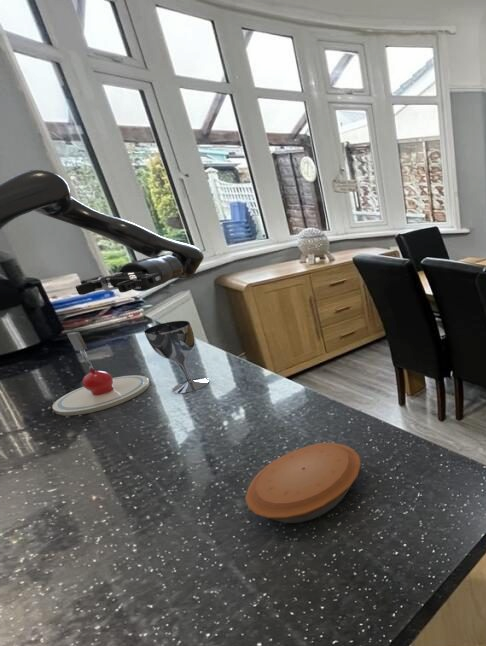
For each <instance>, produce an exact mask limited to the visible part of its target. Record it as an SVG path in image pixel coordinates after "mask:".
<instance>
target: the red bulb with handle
mask: <svg viewBox="0 0 486 646" xmlns="http://www.w3.org/2000/svg"><path fill="white" fill-rule="evenodd" d="M66 335H67V337H68V339H69V341H70V343H71V345H72V347H73V349H74V351H75V352H80V355H81V356H82V359H83V361H84V362H85V364H86V366H87V368H88V370H89V373H87V374H85V376H84V377H83V378H82V380H81V381H82V382H81V383H82V387H85V388H86V389H87V390H89V391H91V393H92V395H101V394H105V393H108V392H110V391H112V390H113V389H114V387H113V386H112V384H113V378H114V377H113V376H112V375H111V374H110V373H109V372H107V371H103V370H95V367H94V366H93V363H92V362H91V360H90V358H89V356H88V354H87V352H86V350H88V347H87V344H86V343H85V341H84V339H83V336H82V335H81V333H80V332H79V331H73V332H67V333H66Z"/></svg>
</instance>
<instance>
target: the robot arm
mask: <svg viewBox="0 0 486 646" xmlns="http://www.w3.org/2000/svg"><path fill="white" fill-rule="evenodd" d="M31 212H35V213H38V214H40V215H43V216H46V217H49V218H51V219H55V220H58V221H61V222H64V223H68V224H70V225H72V226H76V227H78V228H80V229H84V230H86V231H89V232H91V233H94V234H97V235H99V236H101V237H104V238H106V239H108V240H111V241H113V242H115V243H117V244H120V245H122V246H124V247H126V248H128V249H130V250H132V251H134V252H137V253H138V254H141V255H143V256H145V257H146V258H142V259H138V260H135V261H131V262H127V263H125V264H123V265H122V266H121V267H120V269H119V271H118V272H115V273H114V272H113V273H112V274H109V275H102V274H101V275H98V276H94V277H92V278H91V277H90V278H88V279H83V280H81V281H80V283H81V284H77V285H76V286H75V290H76V292H77V294H78V295H79V296H84V295H89V294H91V293H95V292H98V291H103V290H104V291H106V292H110V291H115V290H118V291H119V293H127V292H129V291H130V292H131V291H132V290H133V291H136V292H147V291H149V290H152V289H155V288H157V287H160V286H163V285H164V284H166V283H168V282H170V281H172V280H187V279H190V278H191V277H193V276H194V275H195V273H196V272H197V270H198V269H199V267H200V265H201V264H202V262H203V260H204V258H205V257H204V254H203V252H202V251H201V249H199V248H198V247H196V246H194V245H192V244H188V243H185V242H182V241H177V240H174V239H170V238H167V237H164V236H161V235H159V234H157V233H154V232H153V231H151V230H149V229H147V228H145V227H142V226H141V225H138V224H136V223H134V222H131V221H128V220H125V219H122V218H119V217H115V216H112V215H109V214H106V213H102V212H100V211H98V210H95V209H93V208H91V207H89V206H87V205H85V204H84V203H82V202H80V201H78V200H77V199H76V198H74V197H73V196H72V194H71V190H70V187H69V184H68V182H67V181H66V179H64V178H63V177H62V176H60V175H59V174H57V173H54V172H52V171H49V170H43V169H30V170H25V171H21V172H19V173H17V174H15V175H13V176H11V177H9V178H8V179H6V180H4V181H2V182H0V231H1V230H2V229H3V228H4V227H6V226H7V225H8V224H9V223H11V222H12V221H14V220H15V219H17V218H19V217H21V216H23V215H26V214H29V213H31ZM163 252H170V253H171V254H161V253H163ZM109 284H110V285H111V286H109Z"/></svg>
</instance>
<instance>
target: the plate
mask: <svg viewBox="0 0 486 646" xmlns="http://www.w3.org/2000/svg"><path fill="white" fill-rule="evenodd" d="M112 378H113V384H112V386H113V387H114V389H113V390H112V391H110V392H108V393H105V394H101V395H92V393H91V391H89V390H87V389H86V388H85V387H84V386H81V387H79V388H77V389H74V390H72V391H69V392H68V393H66V394H65V395H63V396H61V397H59V398H58V399H57V400H56V401H54V403H53V404H52V406H51V407H52V408H51V409H52V410H53V412H54V414H56V415H59V416H66V417H68V416H79V415H87V414H90V413H91V414H92V413H96V412H100V411H103V410H107V409H109V408H113V407H115V406H118V405H121V404H123V403H125V402H128V401H130V400H132V399H135V398H136V397H138V396H140V395H141V394H143V393H144V392H146V391H147V389H148V388H149V387H150V385H151V382H150V380H149V378H148V377H147V376H144V375H140V374H139V375H138V374H137V375H136V374H135V375H131V374H130V375H123V376H122V375H121V376H117V377H112Z"/></svg>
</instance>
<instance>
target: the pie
mask: <svg viewBox="0 0 486 646" xmlns="http://www.w3.org/2000/svg"><path fill="white" fill-rule="evenodd" d="M361 466H362V463H361V456H360V455H359V454H358V452H357V451H356V450H355V449H353V448H351V447H350V446H348V445H345V444H340V443H336V442H319V443H314V444H311V445H306V446H303V447H300V448H298V449H297V448H296V449H294V450H291V451H289V452H287V453H286V454H283V455H282V456H279V457H277V458H275V459H274V460H273V461H271V462H270V463H269V464H267V465H265V466H264V467H263V468H262V469H261V470H260V471H259V472H258V473H257V474H256V475H255V476H254V477H253V479H252V481H251V482H250V483H249V486H248V488H247V490H246V494H245V498H244V500H245V503H246V506H247V509H249V510H250V511H251V512H252V513H254V514H255V515H256V516H259V517H262V518H266V519H271V520H273V521H276V522H279V523H283V524H300V523H305V522H309V521H312V520H314V519H316V518H319V517H321V516H323V515H325V514H326V513H328V512H330V511H331V510H333V509H334V508H335V507H337V505H339V504H340V502H342V501H343V499H344V498H345V497H346V495H347V494H348V492H349V490H350V488H351V486H352V485H353V483H354V482H355V480H357V478H358V475H359V473H360V469H361Z"/></svg>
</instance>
